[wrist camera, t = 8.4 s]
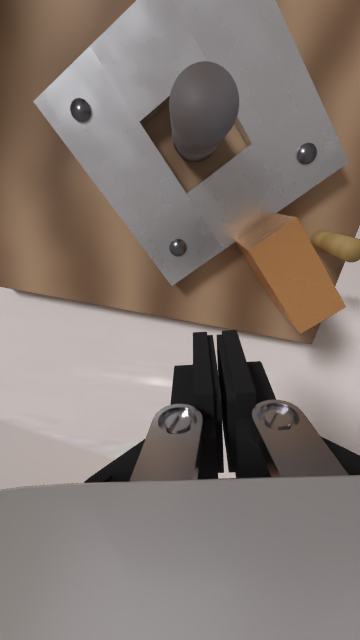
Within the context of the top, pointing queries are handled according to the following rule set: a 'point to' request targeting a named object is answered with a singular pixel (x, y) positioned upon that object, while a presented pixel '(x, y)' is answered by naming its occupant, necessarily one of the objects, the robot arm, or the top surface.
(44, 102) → the flange plate
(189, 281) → the board
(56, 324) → the top surface
